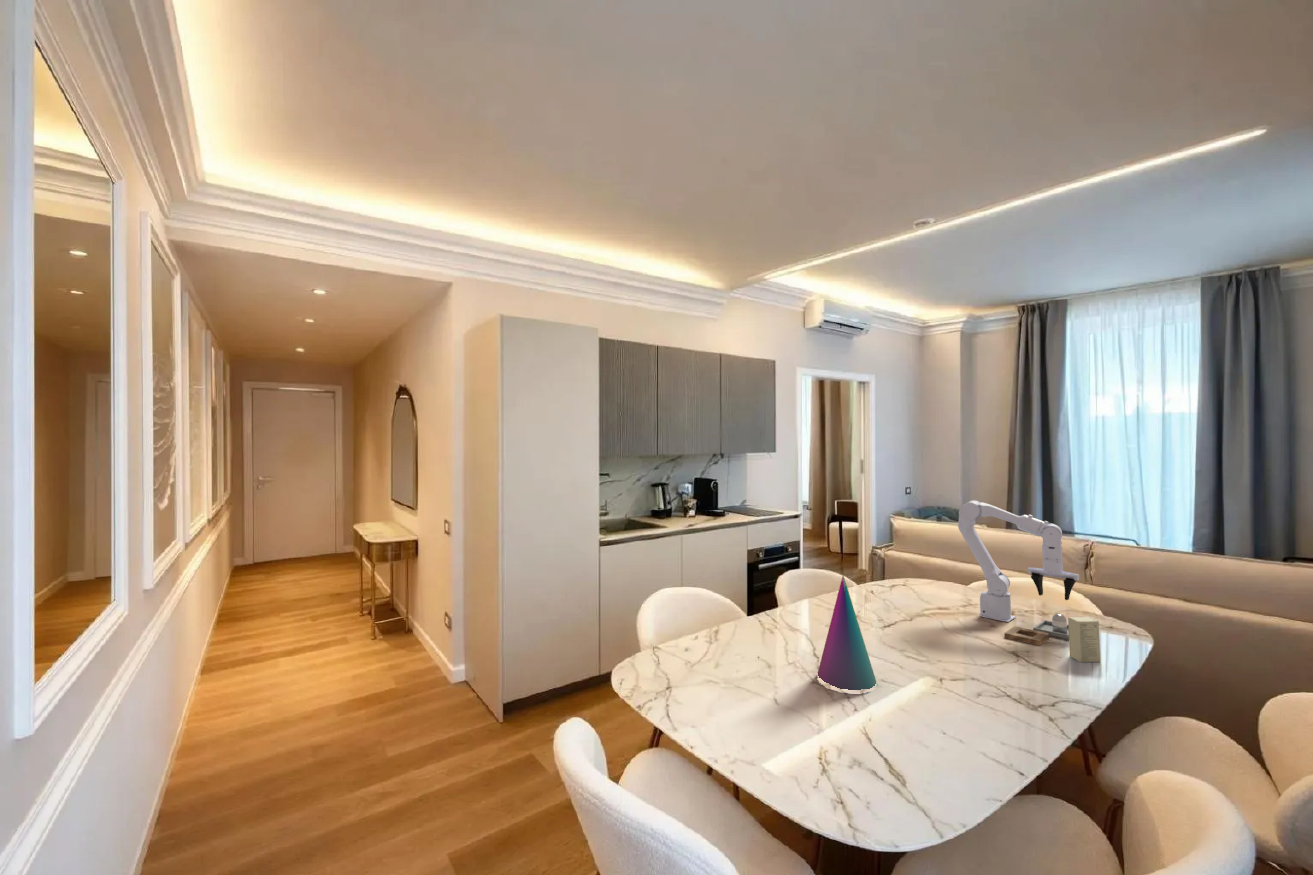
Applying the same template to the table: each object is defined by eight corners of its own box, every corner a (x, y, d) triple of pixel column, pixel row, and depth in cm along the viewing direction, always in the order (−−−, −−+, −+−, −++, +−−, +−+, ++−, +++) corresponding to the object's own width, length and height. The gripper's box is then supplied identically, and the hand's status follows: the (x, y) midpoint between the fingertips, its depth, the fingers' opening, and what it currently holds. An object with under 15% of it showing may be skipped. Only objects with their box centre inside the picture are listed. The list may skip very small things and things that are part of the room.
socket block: (1004, 637, 178) (1004, 632, 178) (1014, 630, 184) (1014, 625, 184) (1040, 645, 170) (1039, 640, 170) (1049, 637, 176) (1049, 633, 176)
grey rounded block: (1050, 631, 181) (1050, 613, 181) (1054, 628, 183) (1054, 611, 183) (1065, 634, 178) (1064, 616, 178) (1069, 631, 180) (1068, 614, 180)
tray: (1033, 632, 181) (1033, 627, 181) (1043, 624, 189) (1043, 619, 189) (1077, 641, 172) (1076, 636, 172) (1086, 632, 180) (1086, 628, 180)
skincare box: (1090, 656, 161) (1089, 616, 161) (1101, 662, 156) (1099, 621, 156) (1068, 656, 161) (1067, 616, 161) (1078, 662, 157) (1077, 620, 157)
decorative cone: (873, 671, 154) (870, 568, 154) (881, 697, 138) (877, 582, 139) (815, 666, 158) (812, 566, 159) (817, 691, 143) (813, 579, 143)
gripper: (1024, 557, 190) (1025, 594, 190) (1074, 563, 179) (1075, 603, 179) (1031, 554, 195) (1032, 591, 194) (1080, 560, 183) (1081, 599, 183)
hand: (1053, 597), depth 187 cm, fingers open, 7 cm apart
